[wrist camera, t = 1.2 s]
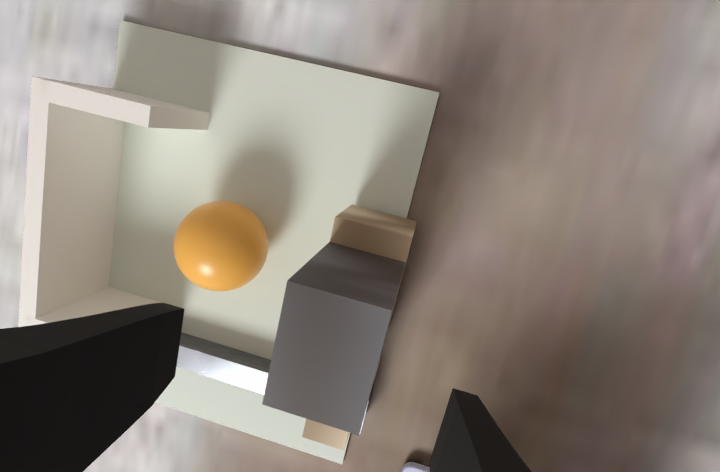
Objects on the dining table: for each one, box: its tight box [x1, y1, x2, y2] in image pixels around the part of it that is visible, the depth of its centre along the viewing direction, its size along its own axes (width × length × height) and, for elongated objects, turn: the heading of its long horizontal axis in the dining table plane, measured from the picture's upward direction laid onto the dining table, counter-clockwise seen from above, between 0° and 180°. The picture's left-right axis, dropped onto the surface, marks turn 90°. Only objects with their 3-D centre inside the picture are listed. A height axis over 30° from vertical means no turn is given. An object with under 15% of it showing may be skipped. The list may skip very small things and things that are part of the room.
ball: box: [173, 201, 268, 291], centre depth 20 cm, size 4×4×4 cm
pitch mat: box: [108, 20, 439, 464], centre depth 23 cm, size 15×19×1 cm
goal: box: [18, 76, 210, 327], centre depth 21 cm, size 5×11×4 cm, turn 167°
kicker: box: [262, 204, 417, 451], centre depth 18 cm, size 3×11×8 cm, turn 167°
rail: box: [176, 332, 373, 434], centre depth 23 cm, size 12×2×2 cm, turn 77°
